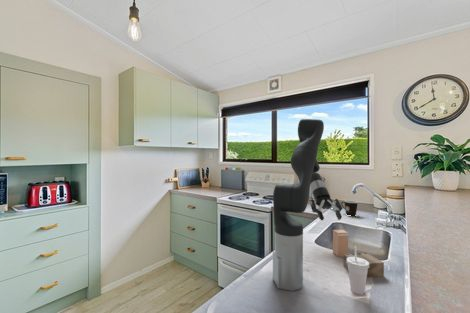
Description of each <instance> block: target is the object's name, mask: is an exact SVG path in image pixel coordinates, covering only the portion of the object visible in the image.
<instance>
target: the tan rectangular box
mask: <svg viewBox="0 0 470 313" xmlns="http://www.w3.org/2000/svg"><path fill="white" fill-rule="evenodd" d="M349 235H350V234H349V232H348V231H347V230H344V229H332V253H333V254H334V255H335V256H337V257H344V254H349Z"/></svg>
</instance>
